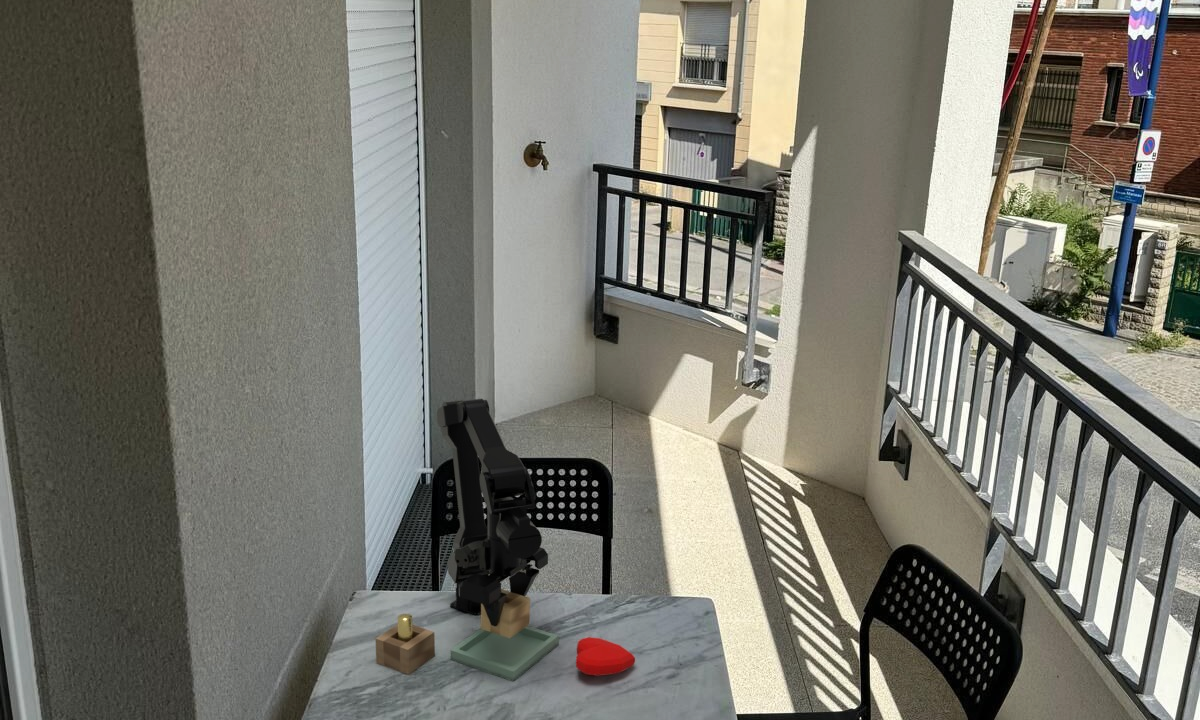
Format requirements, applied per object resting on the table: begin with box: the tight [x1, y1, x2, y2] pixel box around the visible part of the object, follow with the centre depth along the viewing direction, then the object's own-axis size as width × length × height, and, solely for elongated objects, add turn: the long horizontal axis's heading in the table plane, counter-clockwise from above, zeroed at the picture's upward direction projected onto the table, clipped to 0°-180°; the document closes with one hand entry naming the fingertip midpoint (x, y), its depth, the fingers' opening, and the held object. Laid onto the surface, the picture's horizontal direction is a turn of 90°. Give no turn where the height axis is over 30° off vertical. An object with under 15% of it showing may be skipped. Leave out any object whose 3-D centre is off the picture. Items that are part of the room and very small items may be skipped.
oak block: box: [480, 588, 531, 638], centre depth 188 cm, size 6×6×5 cm
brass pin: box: [397, 613, 413, 643], centre depth 186 cm, size 2×2×8 cm
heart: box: [575, 636, 636, 676], centre depth 185 cm, size 12×4×10 cm
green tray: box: [450, 625, 560, 682], centre depth 190 cm, size 14×13×2 cm
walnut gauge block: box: [375, 624, 436, 675], centre depth 186 cm, size 7×7×5 cm
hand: (504, 617), depth 188 cm, fingers closed on oak block, 6 cm apart
